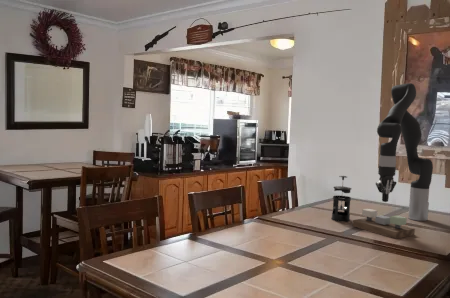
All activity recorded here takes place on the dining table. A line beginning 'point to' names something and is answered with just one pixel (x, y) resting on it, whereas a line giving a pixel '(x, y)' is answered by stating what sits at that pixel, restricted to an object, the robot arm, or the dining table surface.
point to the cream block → (369, 213)
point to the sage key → (398, 221)
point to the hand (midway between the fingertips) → (385, 201)
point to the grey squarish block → (382, 220)
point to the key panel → (384, 228)
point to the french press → (341, 215)
